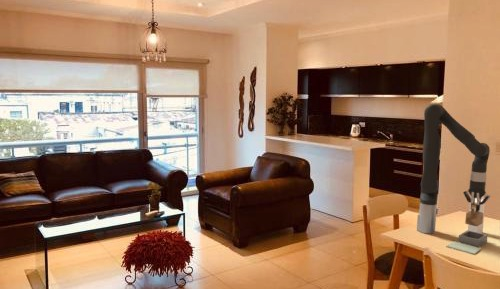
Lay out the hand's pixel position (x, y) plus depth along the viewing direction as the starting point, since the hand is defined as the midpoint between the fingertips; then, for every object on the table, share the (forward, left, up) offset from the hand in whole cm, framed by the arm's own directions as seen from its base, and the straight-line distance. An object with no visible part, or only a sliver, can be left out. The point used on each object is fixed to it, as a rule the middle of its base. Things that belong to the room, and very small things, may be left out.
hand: (475, 210), depth 225 cm
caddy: (0, 0, -7) cm, 7 cm away
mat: (0, -13, -18) cm, 22 cm away
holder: (0, 0, -18) cm, 18 cm away
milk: (-5, +18, -18) cm, 26 cm away
